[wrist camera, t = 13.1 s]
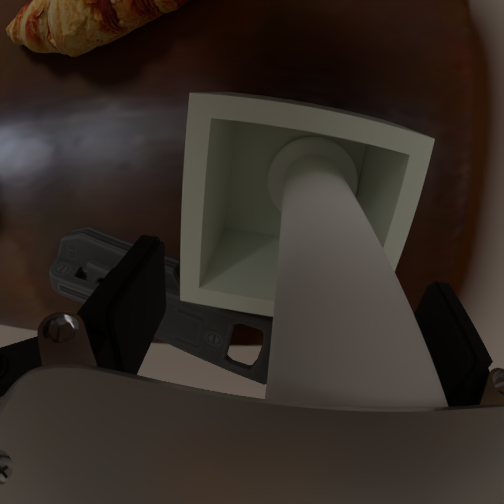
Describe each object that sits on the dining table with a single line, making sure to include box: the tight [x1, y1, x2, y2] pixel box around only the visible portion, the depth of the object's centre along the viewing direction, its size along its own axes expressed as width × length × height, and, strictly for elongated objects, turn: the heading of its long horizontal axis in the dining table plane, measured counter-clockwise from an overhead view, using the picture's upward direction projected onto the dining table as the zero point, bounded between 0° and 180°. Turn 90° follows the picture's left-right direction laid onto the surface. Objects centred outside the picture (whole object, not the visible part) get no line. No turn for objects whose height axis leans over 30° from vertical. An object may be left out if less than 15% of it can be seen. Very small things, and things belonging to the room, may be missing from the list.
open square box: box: [180, 92, 435, 317], centre depth 21 cm, size 12×12×10 cm
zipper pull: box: [49, 227, 273, 384], centre depth 29 cm, size 9×7×25 cm
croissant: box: [6, 0, 189, 57], centre depth 17 cm, size 21×10×8 cm, turn 88°
